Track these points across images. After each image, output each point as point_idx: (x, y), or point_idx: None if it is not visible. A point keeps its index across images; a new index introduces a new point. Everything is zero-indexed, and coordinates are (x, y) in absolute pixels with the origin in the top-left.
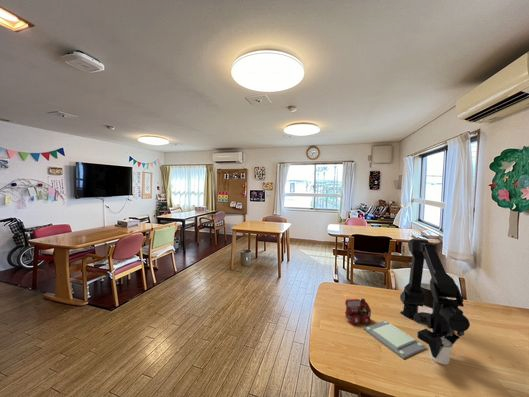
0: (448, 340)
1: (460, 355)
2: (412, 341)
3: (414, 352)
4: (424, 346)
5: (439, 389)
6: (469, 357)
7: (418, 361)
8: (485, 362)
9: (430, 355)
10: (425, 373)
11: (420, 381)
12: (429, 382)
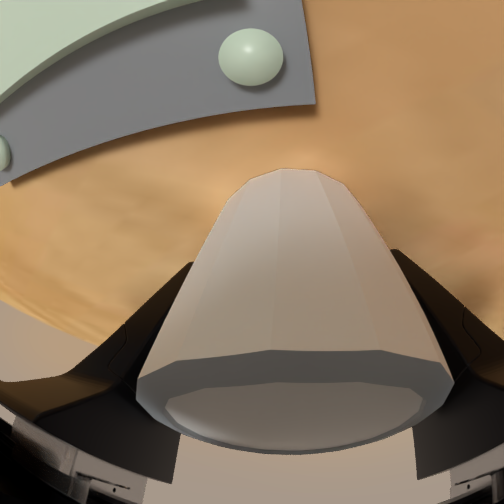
0: (408, 426)
1: (478, 266)
2: (172, 3)
3: (87, 147)
4: (286, 94)
5: (93, 338)
6: (491, 289)
7: (81, 214)
8: (495, 322)
9: (222, 209)
10: (76, 284)
11: (40, 297)
12: (71, 313)
